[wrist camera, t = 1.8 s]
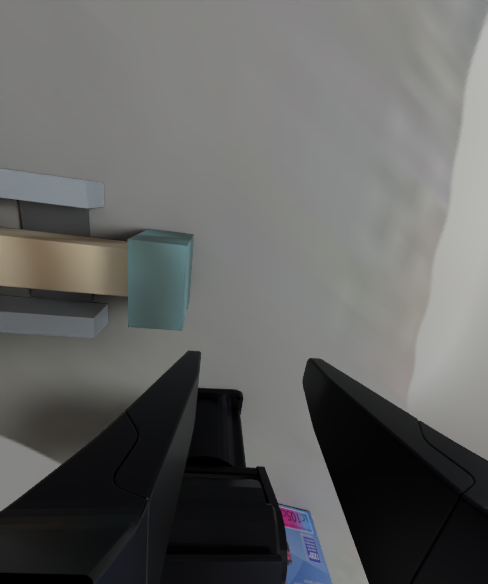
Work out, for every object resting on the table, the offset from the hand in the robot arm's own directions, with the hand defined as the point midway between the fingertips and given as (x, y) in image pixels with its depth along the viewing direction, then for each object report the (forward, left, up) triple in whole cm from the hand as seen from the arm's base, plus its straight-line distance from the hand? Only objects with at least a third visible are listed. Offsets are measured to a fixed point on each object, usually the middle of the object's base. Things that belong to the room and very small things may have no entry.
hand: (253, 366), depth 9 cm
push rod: (+9, 0, -11) cm, 15 cm away
